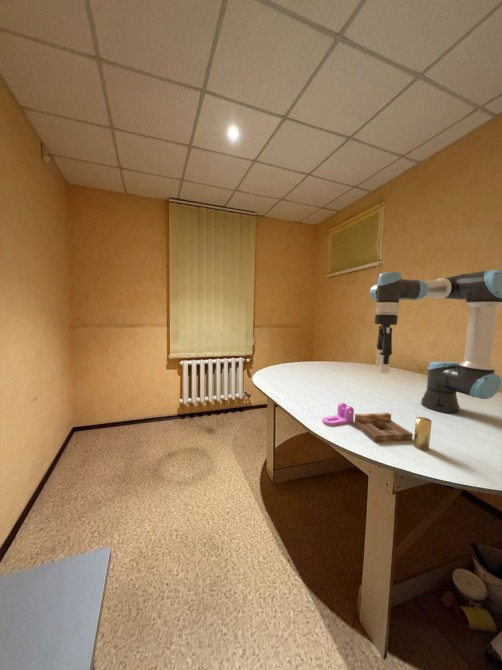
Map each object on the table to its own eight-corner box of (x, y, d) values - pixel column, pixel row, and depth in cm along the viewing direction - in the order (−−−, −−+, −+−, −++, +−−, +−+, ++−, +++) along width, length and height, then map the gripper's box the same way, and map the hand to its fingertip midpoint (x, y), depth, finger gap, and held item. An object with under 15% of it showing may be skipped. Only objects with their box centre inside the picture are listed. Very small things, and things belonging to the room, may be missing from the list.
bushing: (421, 443, 88) (423, 416, 87) (432, 450, 83) (434, 422, 82) (410, 444, 87) (412, 417, 86) (420, 451, 83) (423, 422, 82)
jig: (387, 424, 103) (388, 412, 102) (412, 440, 90) (413, 427, 89) (354, 425, 100) (355, 414, 100) (374, 442, 88) (375, 429, 87)
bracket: (343, 417, 109) (344, 401, 108) (353, 422, 104) (354, 406, 103) (319, 421, 104) (320, 405, 104) (328, 427, 99) (328, 410, 99)
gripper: (372, 313, 106) (368, 362, 108) (379, 313, 83) (374, 375, 85) (391, 314, 104) (387, 363, 106) (405, 314, 80) (399, 377, 82)
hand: (382, 369), depth 95 cm, fingers open, 13 cm apart
